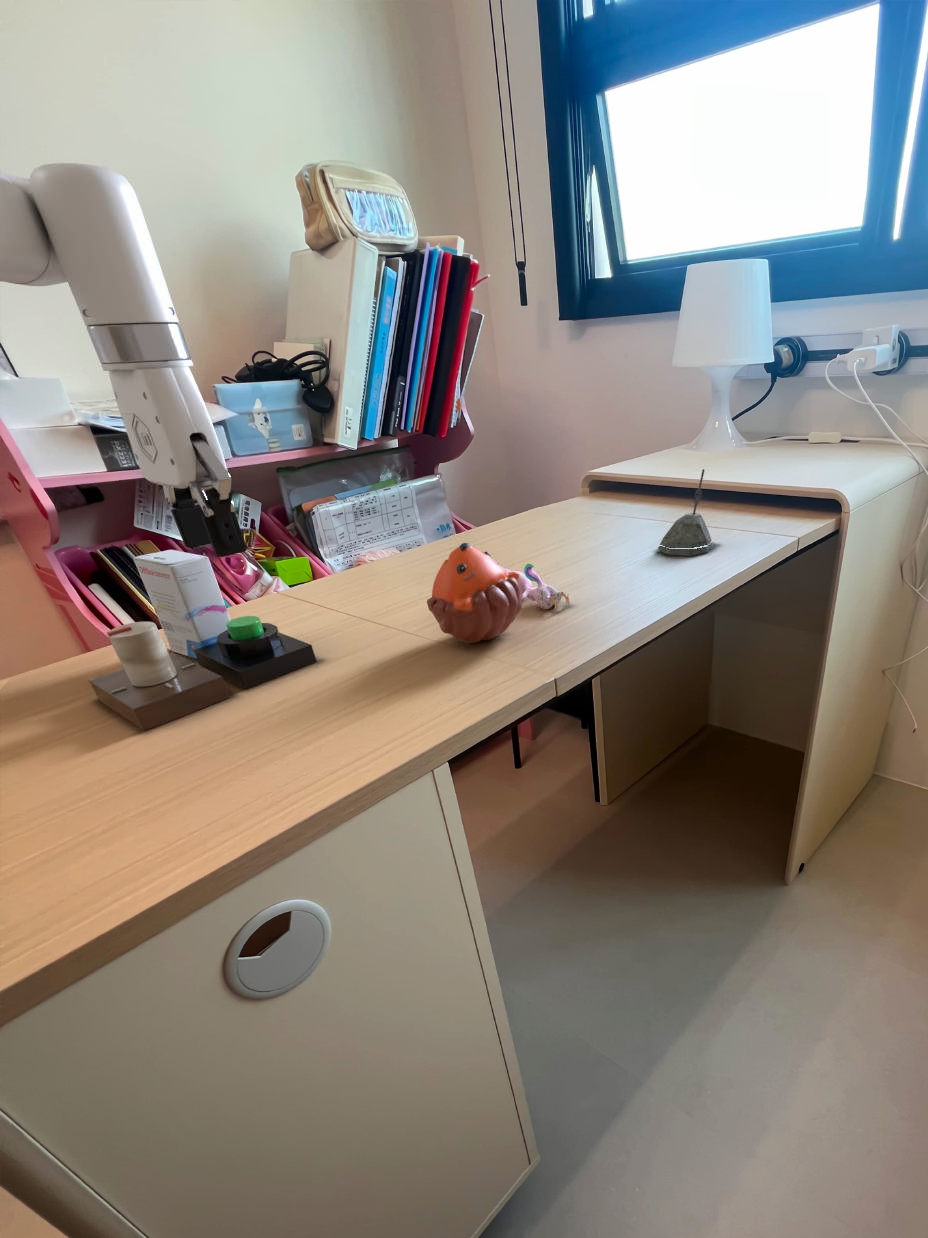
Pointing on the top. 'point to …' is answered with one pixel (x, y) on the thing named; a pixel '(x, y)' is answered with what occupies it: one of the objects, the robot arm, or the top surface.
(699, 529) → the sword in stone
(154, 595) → the ink box
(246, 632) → the green button
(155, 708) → the dimmer panel
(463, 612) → the orange toy creature
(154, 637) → the dimmer knob
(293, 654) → the switch box
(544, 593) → the pink plastic figure
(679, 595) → the top surface
